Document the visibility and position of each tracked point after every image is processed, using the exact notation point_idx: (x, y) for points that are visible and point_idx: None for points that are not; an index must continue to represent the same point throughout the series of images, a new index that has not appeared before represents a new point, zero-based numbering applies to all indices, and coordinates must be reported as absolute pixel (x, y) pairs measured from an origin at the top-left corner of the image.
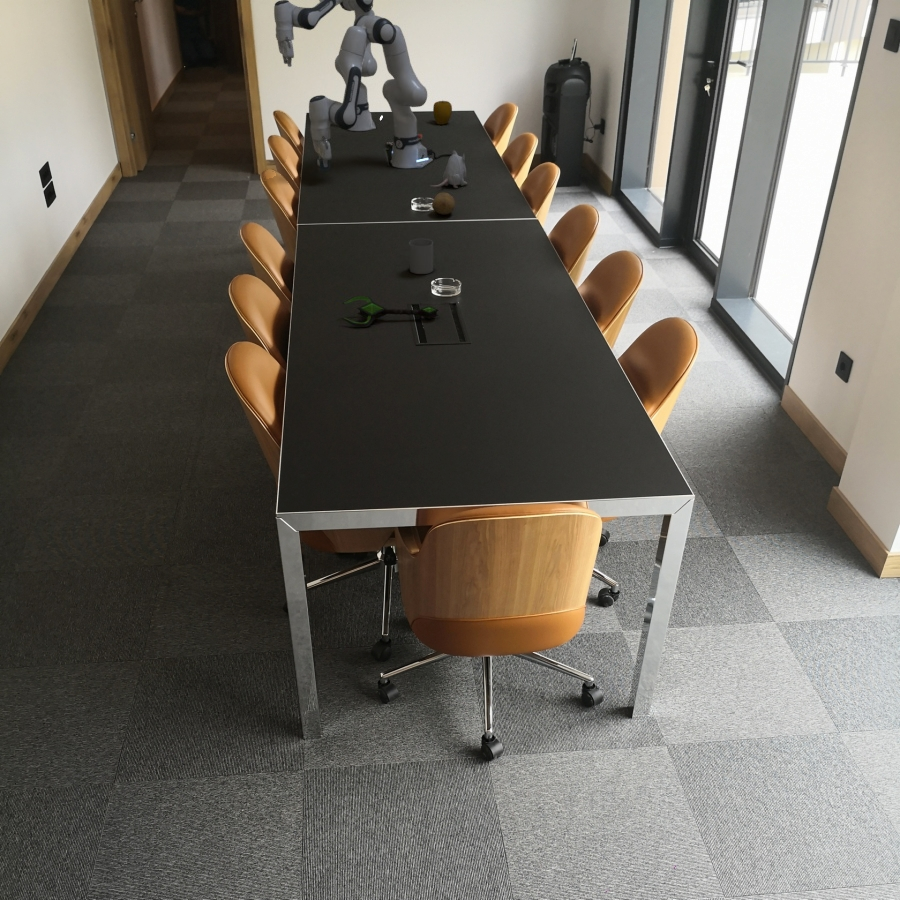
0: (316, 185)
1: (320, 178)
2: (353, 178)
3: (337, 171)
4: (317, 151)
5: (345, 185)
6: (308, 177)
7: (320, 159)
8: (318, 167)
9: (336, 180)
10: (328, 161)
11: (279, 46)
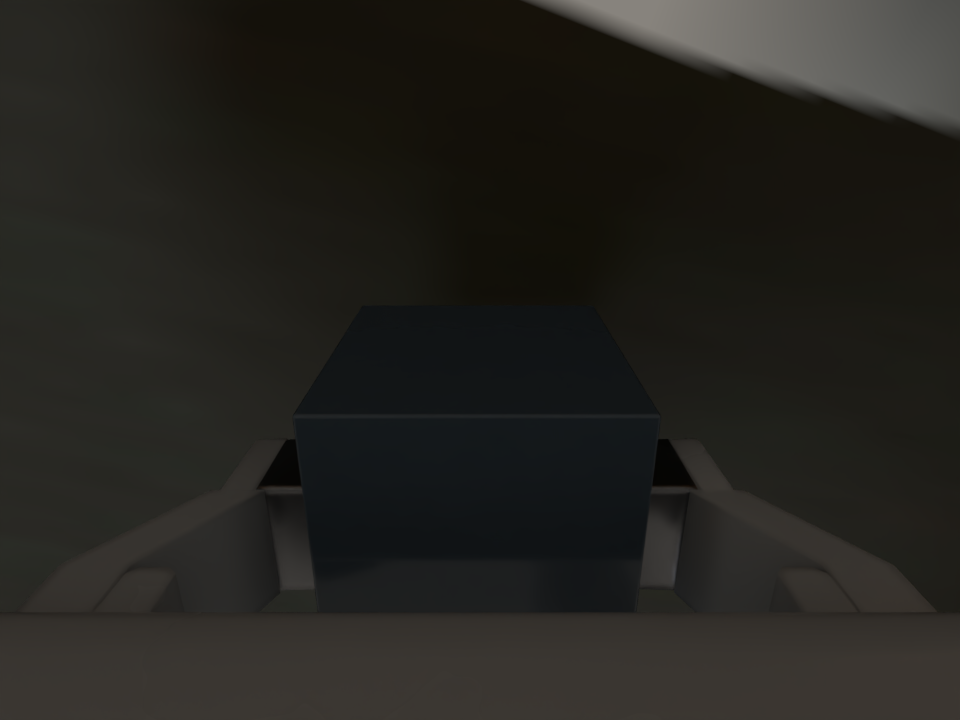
0: (189, 110)
1: (618, 288)
2: None
3: None
4: (845, 692)
5: (119, 529)
6: (788, 90)
7: (531, 501)
8: (542, 320)
9: None
10: None
11: None
